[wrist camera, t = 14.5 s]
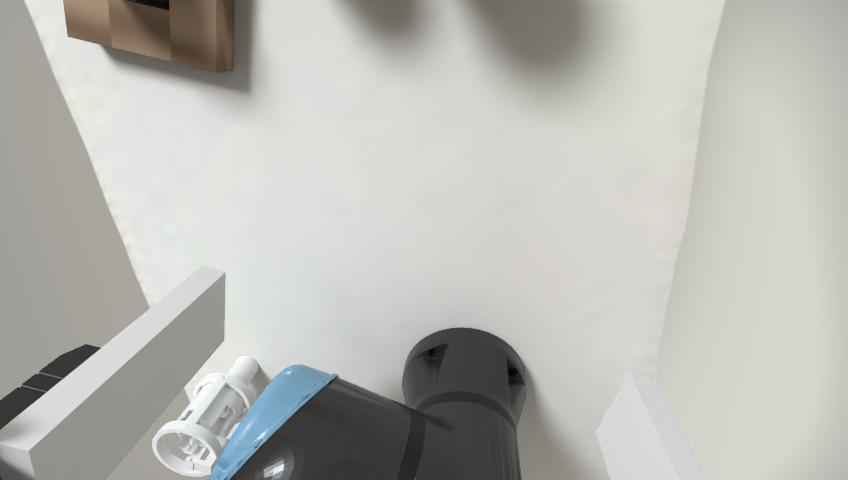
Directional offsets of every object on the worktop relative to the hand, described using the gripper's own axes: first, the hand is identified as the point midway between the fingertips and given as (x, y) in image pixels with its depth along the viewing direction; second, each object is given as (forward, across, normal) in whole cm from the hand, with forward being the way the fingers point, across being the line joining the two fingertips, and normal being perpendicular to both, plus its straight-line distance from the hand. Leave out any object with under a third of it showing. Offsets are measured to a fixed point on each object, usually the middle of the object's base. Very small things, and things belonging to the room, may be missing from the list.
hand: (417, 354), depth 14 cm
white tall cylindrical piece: (+32, +20, +35) cm, 51 cm away
